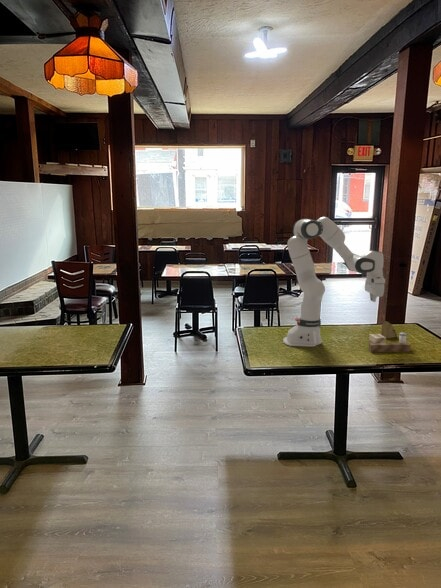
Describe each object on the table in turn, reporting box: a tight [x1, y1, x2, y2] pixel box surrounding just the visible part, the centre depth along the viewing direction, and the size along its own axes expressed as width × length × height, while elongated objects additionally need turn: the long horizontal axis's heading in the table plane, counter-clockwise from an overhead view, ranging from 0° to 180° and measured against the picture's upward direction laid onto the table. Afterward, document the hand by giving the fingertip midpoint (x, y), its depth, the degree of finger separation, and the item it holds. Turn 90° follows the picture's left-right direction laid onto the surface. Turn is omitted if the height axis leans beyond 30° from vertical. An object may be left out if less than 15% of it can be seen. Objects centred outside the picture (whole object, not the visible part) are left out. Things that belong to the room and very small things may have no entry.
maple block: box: [368, 333, 387, 343], centre depth 250 cm, size 6×8×5 cm
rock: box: [380, 320, 398, 340], centre depth 261 cm, size 11×9×10 cm
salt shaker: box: [398, 331, 408, 343], centre depth 244 cm, size 4×4×8 cm
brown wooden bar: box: [368, 342, 412, 353], centre depth 238 cm, size 22×3×4 cm, turn 92°
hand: (372, 301), depth 255 cm, fingers closed
